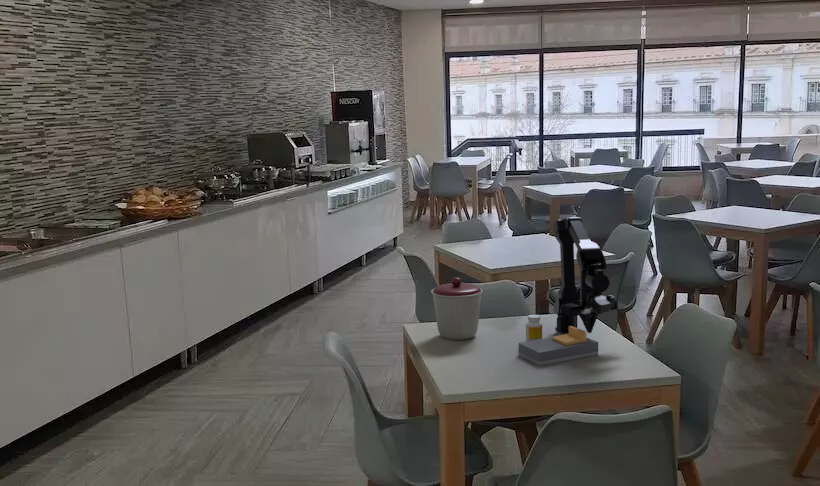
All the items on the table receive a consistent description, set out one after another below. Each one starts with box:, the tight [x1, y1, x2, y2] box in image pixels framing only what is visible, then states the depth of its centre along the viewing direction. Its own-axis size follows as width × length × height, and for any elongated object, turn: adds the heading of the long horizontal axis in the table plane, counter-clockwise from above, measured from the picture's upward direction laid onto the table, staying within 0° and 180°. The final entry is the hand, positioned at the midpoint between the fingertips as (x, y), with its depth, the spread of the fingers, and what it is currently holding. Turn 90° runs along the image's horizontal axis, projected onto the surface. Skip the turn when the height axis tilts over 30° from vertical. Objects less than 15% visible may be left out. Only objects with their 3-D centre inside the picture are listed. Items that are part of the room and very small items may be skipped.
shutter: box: [551, 326, 587, 345], centre depth 244 cm, size 8×8×3 cm
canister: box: [430, 277, 484, 341], centre depth 266 cm, size 18×18×21 cm
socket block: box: [518, 336, 599, 366], centre depth 243 cm, size 22×12×4 cm, turn 114°
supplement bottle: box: [525, 314, 543, 342], centre depth 255 cm, size 5×5×10 cm
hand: (589, 332), depth 247 cm, fingers closed
